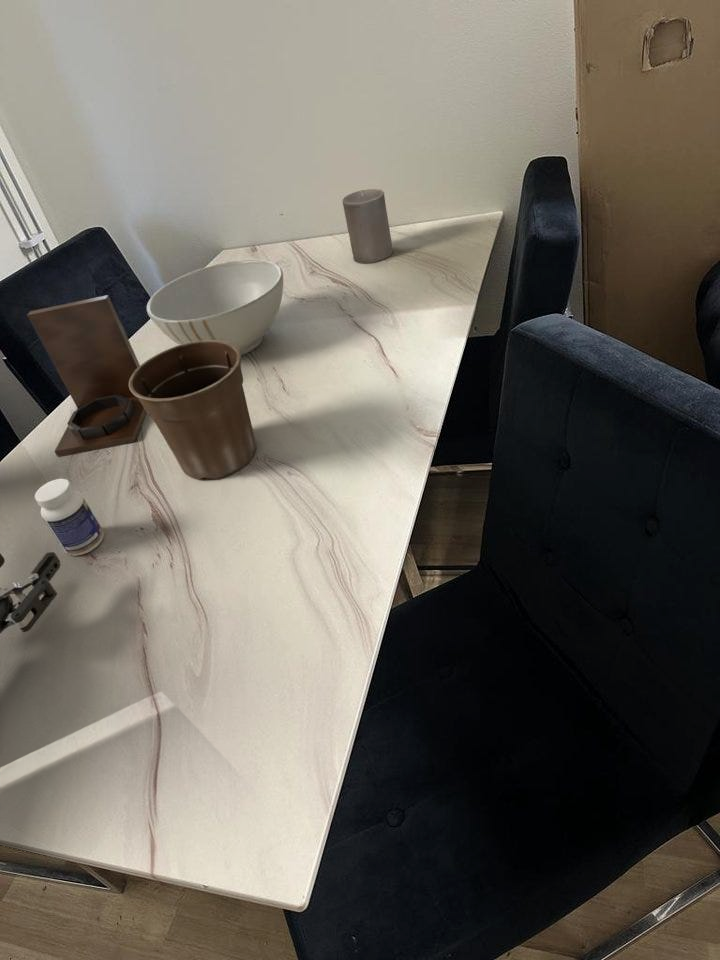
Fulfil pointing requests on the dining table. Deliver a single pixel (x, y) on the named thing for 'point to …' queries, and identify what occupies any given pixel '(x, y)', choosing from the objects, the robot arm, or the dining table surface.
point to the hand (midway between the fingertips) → (26, 555)
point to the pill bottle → (69, 517)
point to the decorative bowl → (220, 303)
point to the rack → (92, 372)
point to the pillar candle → (368, 225)
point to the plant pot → (199, 406)
